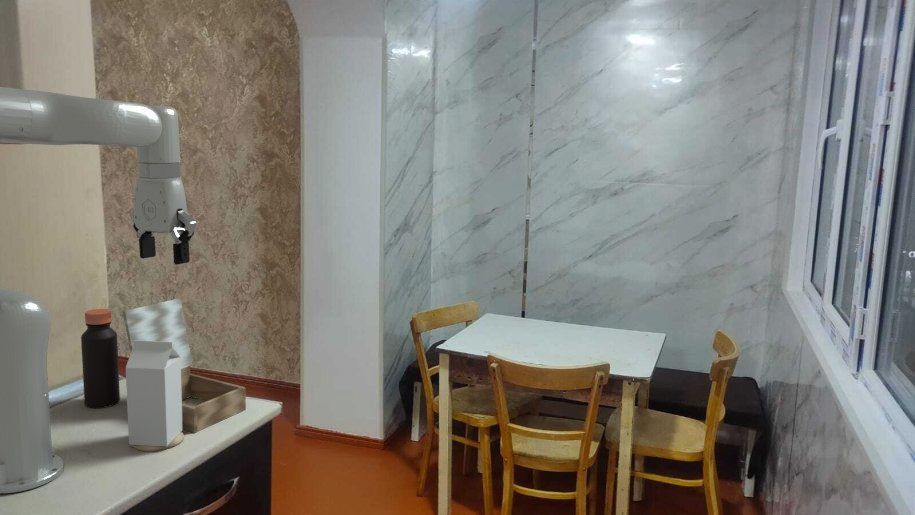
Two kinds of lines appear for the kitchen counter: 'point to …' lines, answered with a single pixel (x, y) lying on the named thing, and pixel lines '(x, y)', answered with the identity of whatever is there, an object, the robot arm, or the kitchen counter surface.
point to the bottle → (100, 360)
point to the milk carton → (153, 394)
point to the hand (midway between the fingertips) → (164, 260)
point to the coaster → (159, 448)
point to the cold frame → (185, 365)
